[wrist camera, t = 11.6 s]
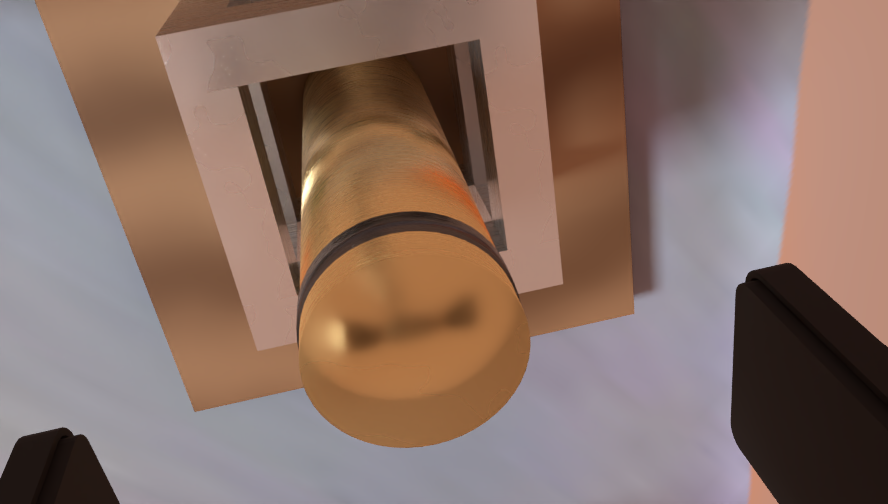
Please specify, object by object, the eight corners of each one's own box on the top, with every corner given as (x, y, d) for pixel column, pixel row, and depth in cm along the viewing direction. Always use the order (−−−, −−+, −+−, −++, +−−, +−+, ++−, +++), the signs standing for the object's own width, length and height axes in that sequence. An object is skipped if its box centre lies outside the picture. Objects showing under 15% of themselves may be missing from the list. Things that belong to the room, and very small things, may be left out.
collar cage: (189, -13, 25) (155, 36, 19) (476, -67, 25) (532, -36, 19) (265, 243, 29) (257, 351, 23) (509, 192, 29) (563, 284, 23)
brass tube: (288, 51, 26) (268, 280, 13) (413, 27, 26) (520, 228, 13) (317, 168, 28) (325, 470, 15) (433, 145, 28) (543, 422, 15)
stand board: (-41, -232, 22) (-57, -235, 21) (589, -335, 23) (603, -343, 22) (198, 393, 33) (195, 411, 32) (623, 298, 34) (634, 313, 33)
